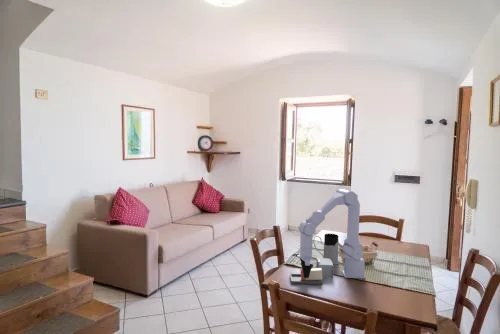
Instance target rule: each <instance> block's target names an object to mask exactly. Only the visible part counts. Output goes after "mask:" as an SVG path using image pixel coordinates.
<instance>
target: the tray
mask: <svg viewBox="0 0 500 334" xmlns="http://www.w3.org/2000/svg"><path fill="white" fill-rule="evenodd" d="M289 277H290V285H302V286H303V285H304V286H305V285H306V286H322V283H323V282H322V279H319V280H301V273H293V272H291V273H290V274H289Z"/></svg>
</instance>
